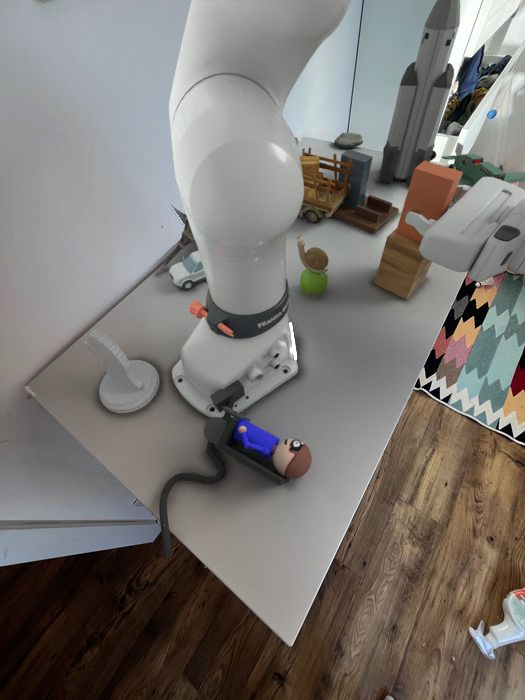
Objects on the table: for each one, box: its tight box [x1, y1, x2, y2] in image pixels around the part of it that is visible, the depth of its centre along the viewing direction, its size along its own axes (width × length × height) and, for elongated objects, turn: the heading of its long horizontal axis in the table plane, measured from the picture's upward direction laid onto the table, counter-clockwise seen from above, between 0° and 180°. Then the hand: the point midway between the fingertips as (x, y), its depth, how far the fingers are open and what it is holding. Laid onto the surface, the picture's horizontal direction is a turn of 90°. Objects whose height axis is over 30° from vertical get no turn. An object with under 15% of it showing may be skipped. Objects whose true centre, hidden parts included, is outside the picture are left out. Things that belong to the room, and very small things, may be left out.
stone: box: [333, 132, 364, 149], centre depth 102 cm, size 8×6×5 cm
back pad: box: [396, 161, 463, 242], centre depth 54 cm, size 3×6×11 cm, turn 47°
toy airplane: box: [441, 142, 525, 187], centre depth 82 cm, size 22×25×11 cm
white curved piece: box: [83, 328, 161, 414], centre depth 51 cm, size 10×10×15 cm
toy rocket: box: [378, 0, 461, 187], centre depth 75 cm, size 12×9×35 cm
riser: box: [373, 227, 433, 300], centre depth 63 cm, size 7×7×11 cm
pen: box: [447, 163, 455, 169], centre depth 88 cm, size 1×16×1 cm, turn 142°
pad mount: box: [331, 148, 400, 235], centre depth 77 cm, size 10×14×12 cm
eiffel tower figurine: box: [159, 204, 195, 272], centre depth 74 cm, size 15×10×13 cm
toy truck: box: [294, 136, 353, 224], centre depth 79 cm, size 11×25×15 cm, turn 55°
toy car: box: [169, 250, 206, 290], centre depth 70 cm, size 6×13×5 cm, turn 119°
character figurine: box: [203, 407, 313, 486], centre depth 46 cm, size 8×7×15 cm
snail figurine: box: [296, 233, 330, 296], centre depth 63 cm, size 5×6×12 cm
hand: (423, 201), depth 54 cm, fingers open, 8 cm apart
